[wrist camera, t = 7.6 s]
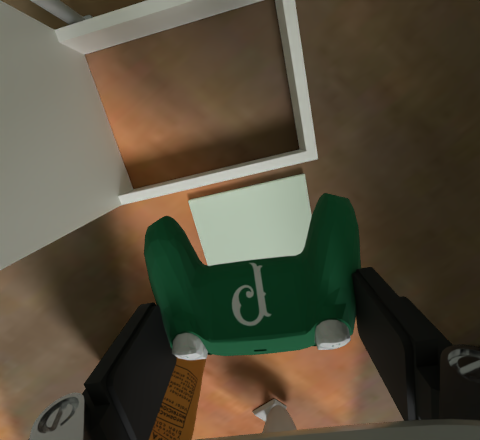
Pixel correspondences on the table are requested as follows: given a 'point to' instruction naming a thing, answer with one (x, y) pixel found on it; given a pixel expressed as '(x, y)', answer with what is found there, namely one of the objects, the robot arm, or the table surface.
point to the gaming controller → (258, 290)
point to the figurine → (275, 417)
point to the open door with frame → (96, 118)
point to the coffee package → (180, 402)
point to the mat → (254, 221)
